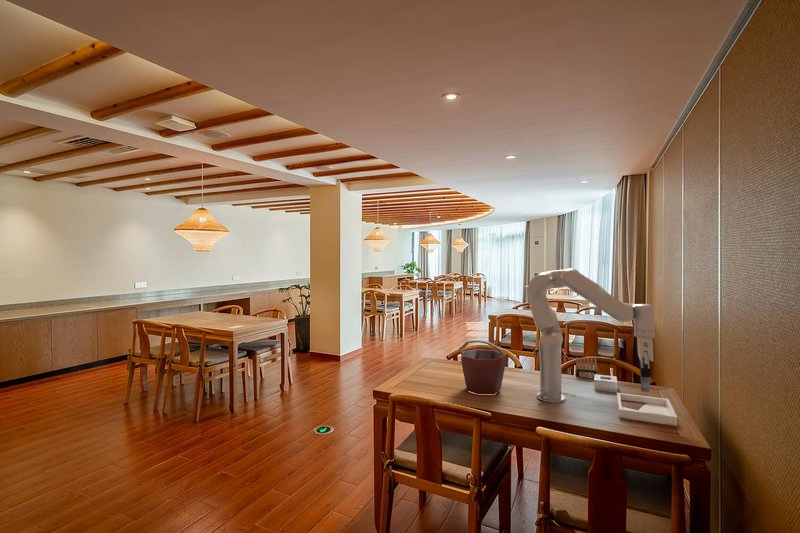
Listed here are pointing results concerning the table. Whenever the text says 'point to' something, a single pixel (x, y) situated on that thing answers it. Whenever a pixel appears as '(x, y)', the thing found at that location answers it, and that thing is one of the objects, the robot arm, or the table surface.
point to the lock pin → (645, 383)
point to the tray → (648, 409)
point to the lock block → (605, 383)
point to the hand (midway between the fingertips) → (644, 375)
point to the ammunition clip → (586, 368)
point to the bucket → (483, 368)
